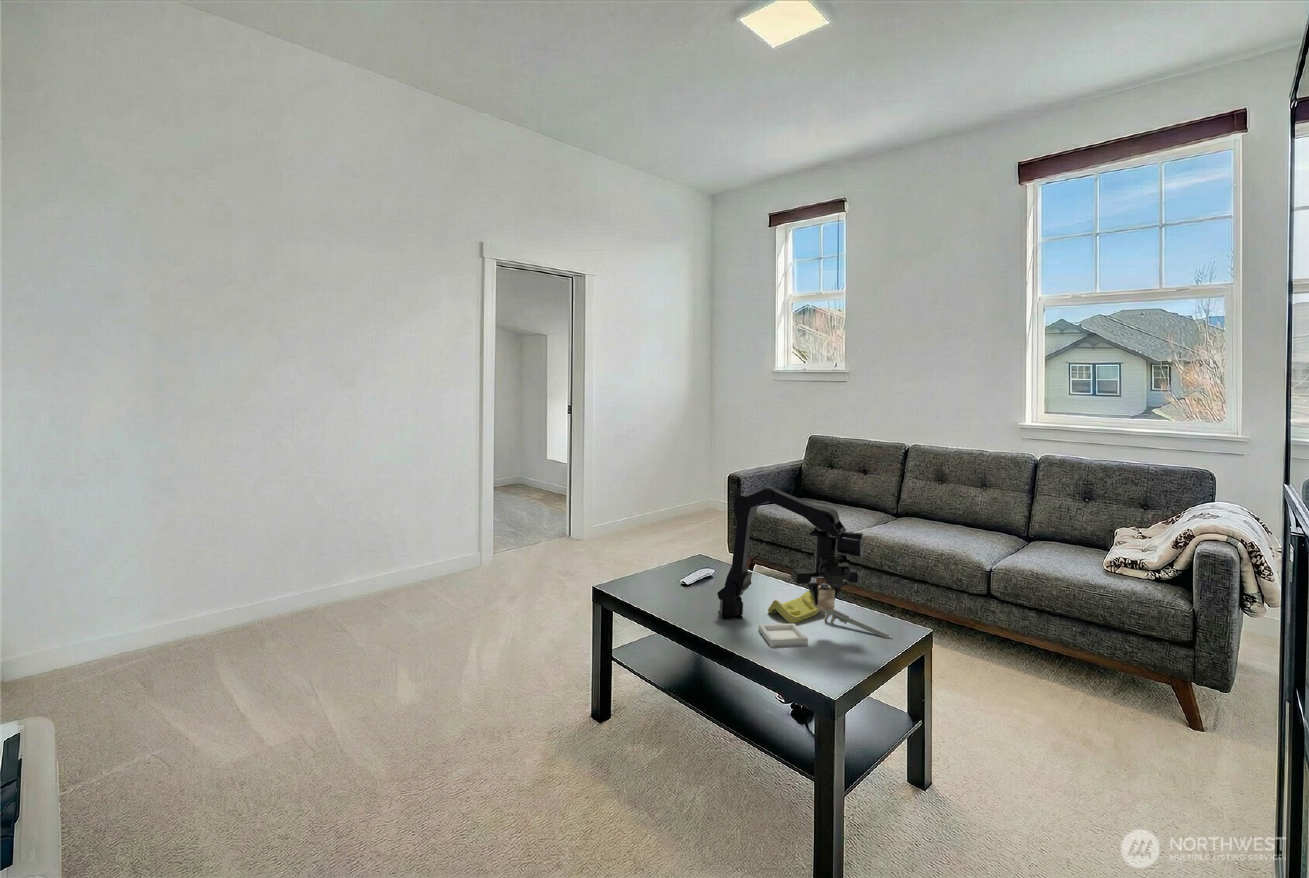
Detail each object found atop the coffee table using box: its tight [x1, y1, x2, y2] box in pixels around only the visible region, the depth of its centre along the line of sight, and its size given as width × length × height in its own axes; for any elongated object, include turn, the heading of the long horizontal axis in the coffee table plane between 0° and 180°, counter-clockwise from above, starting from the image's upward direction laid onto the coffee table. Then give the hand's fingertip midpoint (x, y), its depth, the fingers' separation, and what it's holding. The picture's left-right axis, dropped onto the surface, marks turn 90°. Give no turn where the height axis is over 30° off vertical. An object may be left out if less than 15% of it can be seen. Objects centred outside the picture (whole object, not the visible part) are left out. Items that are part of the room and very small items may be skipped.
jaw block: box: [813, 582, 836, 612], centre depth 175 cm, size 4×4×7 cm
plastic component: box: [767, 590, 820, 624], centre depth 194 cm, size 20×7×10 cm
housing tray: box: [758, 623, 809, 648], centre depth 174 cm, size 11×11×2 cm
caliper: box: [824, 605, 893, 639], centre depth 181 cm, size 20×1×6 cm, turn 54°
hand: (823, 604), depth 175 cm, fingers closed on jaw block, 4 cm apart
